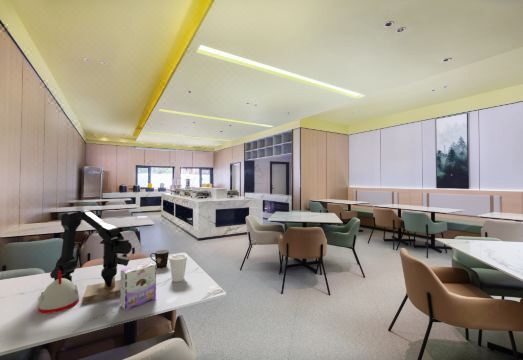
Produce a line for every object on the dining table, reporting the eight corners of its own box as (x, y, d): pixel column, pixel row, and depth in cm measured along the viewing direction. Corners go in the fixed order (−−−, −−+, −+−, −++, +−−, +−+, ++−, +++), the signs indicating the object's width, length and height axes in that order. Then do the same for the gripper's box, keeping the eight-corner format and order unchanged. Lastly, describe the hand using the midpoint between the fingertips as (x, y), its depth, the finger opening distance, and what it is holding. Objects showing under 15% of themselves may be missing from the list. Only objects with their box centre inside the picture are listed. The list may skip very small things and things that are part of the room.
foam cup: (165, 282, 133) (165, 258, 133) (175, 275, 142) (175, 253, 142) (180, 283, 130) (181, 260, 131) (189, 277, 139) (189, 255, 140)
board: (83, 303, 108) (83, 297, 109) (87, 291, 121) (87, 285, 121) (123, 295, 117) (123, 289, 117) (123, 284, 129) (123, 279, 129)
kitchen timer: (77, 295, 117) (78, 264, 117) (80, 306, 107) (80, 272, 107) (39, 304, 108) (39, 271, 108) (37, 317, 98) (38, 280, 98)
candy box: (150, 295, 117) (150, 261, 117) (156, 298, 113) (156, 264, 114) (119, 306, 107) (120, 269, 107) (125, 310, 103) (125, 272, 103)
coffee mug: (171, 266, 158) (171, 251, 158) (159, 270, 151) (160, 254, 151) (160, 262, 164) (160, 248, 164) (148, 266, 157) (149, 251, 157)
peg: (114, 293, 119) (115, 276, 119) (104, 295, 117) (104, 278, 117) (115, 289, 123) (115, 273, 123) (104, 291, 120) (104, 275, 121)
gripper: (128, 255, 116) (128, 287, 116) (128, 246, 132) (127, 274, 132) (101, 258, 110) (100, 292, 110) (104, 248, 126) (103, 278, 126)
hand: (109, 283), depth 120 cm, fingers open, 9 cm apart
